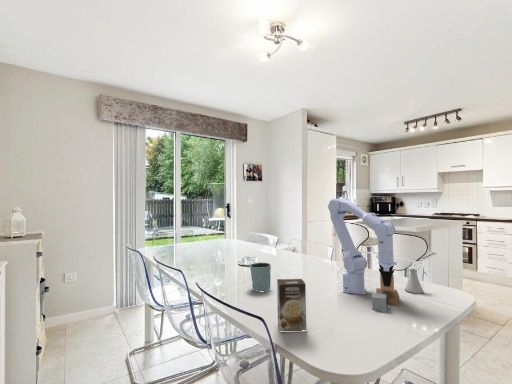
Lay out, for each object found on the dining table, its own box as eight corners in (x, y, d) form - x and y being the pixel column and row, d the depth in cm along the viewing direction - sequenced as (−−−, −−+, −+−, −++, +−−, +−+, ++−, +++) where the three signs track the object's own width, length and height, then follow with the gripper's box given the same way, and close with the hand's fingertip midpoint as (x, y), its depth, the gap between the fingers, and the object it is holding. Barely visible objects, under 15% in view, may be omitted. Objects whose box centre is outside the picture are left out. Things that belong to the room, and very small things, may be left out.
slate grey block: (372, 309, 109) (371, 297, 109) (372, 305, 114) (372, 292, 114) (386, 311, 107) (386, 298, 107) (386, 306, 112) (385, 294, 112)
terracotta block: (380, 288, 116) (380, 276, 116) (380, 285, 121) (380, 273, 121) (394, 290, 114) (393, 277, 114) (393, 286, 118) (393, 274, 119)
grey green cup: (269, 293, 131) (268, 267, 131) (248, 292, 133) (247, 267, 133) (272, 286, 141) (272, 262, 141) (253, 285, 143) (252, 262, 143)
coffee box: (279, 333, 93) (278, 284, 93) (277, 324, 99) (276, 279, 99) (307, 332, 93) (305, 283, 93) (303, 323, 99) (301, 278, 100)
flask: (414, 295, 123) (413, 272, 123) (401, 289, 130) (400, 268, 130) (427, 293, 125) (426, 270, 125) (414, 288, 132) (413, 266, 132)
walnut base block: (378, 304, 115) (377, 294, 115) (376, 297, 122) (376, 288, 122) (399, 306, 112) (399, 296, 112) (396, 299, 120) (396, 289, 120)
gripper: (397, 255, 109) (398, 290, 109) (395, 248, 122) (397, 280, 122) (377, 254, 112) (378, 288, 112) (378, 248, 125) (379, 278, 125)
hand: (387, 284), depth 117 cm, fingers closed on terracotta block, 5 cm apart
